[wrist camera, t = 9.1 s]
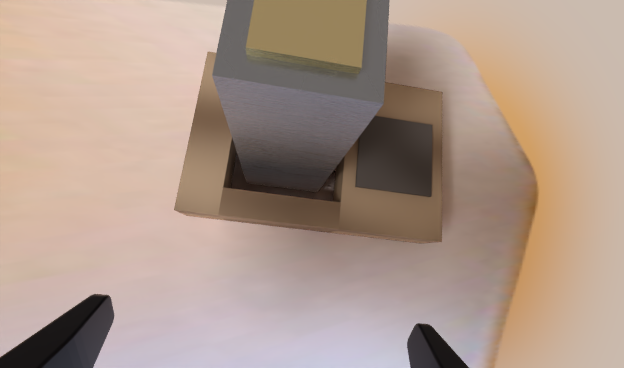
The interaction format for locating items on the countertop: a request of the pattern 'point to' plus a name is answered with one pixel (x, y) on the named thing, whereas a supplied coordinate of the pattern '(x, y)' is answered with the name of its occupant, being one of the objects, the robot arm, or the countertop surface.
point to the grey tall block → (299, 84)
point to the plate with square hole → (348, 178)
